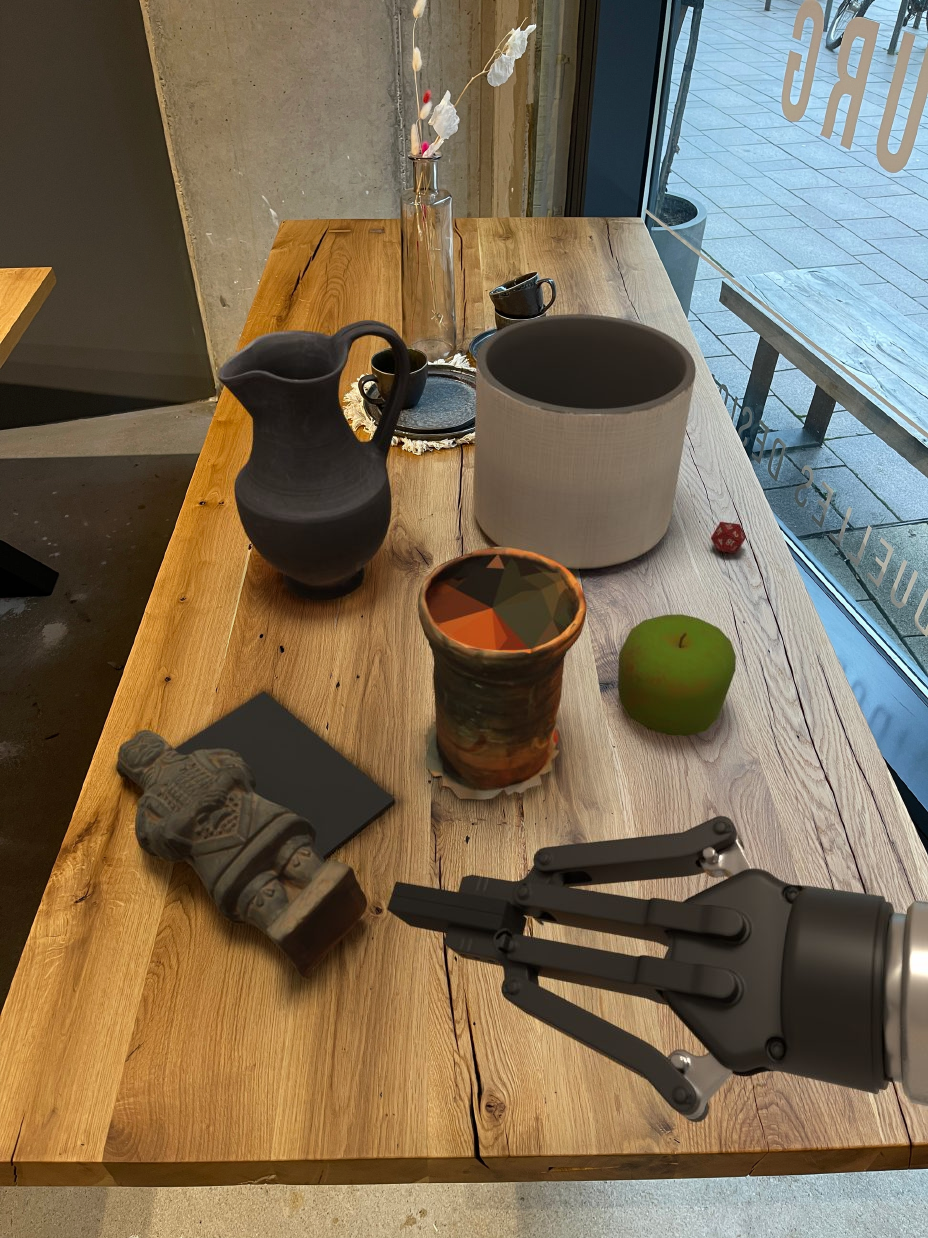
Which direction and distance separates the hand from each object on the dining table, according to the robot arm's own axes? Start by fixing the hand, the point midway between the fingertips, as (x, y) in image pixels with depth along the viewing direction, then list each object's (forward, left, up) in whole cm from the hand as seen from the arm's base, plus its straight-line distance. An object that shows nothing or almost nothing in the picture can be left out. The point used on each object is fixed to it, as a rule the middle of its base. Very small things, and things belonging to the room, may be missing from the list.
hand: (403, 904), depth 48 cm
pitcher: (+50, +35, -27) cm, 67 cm away
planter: (+72, +13, -27) cm, 78 cm away
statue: (+7, +11, -21) cm, 25 cm away
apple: (+44, -7, -27) cm, 52 cm away
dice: (+73, -7, -27) cm, 78 cm away
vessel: (+32, +7, -27) cm, 43 cm away
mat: (+19, +25, -26) cm, 41 cm away
